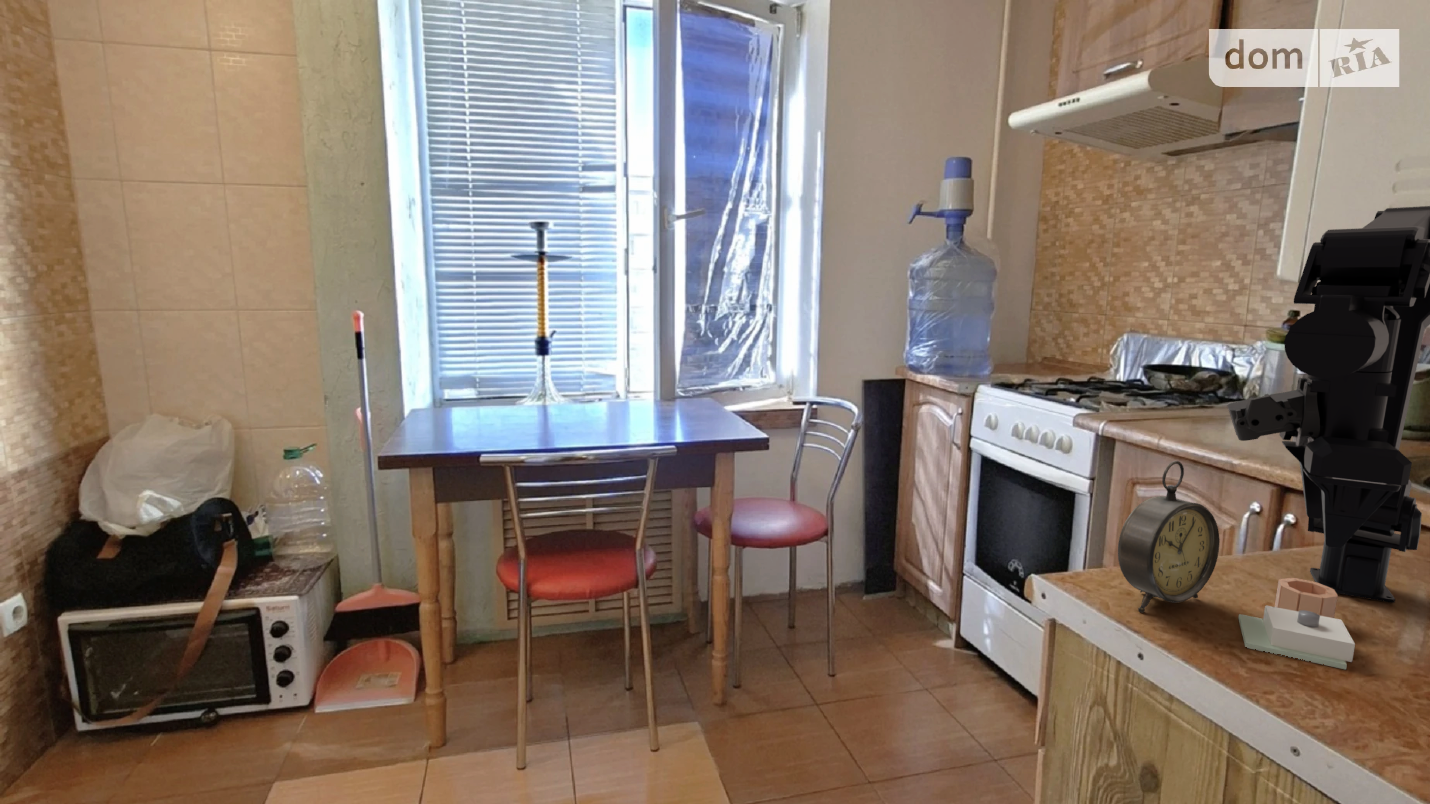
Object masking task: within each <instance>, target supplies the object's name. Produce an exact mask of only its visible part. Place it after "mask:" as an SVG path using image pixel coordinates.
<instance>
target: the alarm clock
mask: <svg viewBox="0 0 1430 804" xmlns="http://www.w3.org/2000/svg"><path fill="white" fill-rule="evenodd" d="M1174 465H1177V466H1179V469H1180V476H1179V479H1178V481H1177V483H1176V484H1175V485H1174V484H1169V485H1167V483H1166V478H1167V474H1168V473H1169V470H1170V469H1171V467H1172V466H1174ZM1184 468H1185V467H1184V465H1183V463H1181V461H1179V460H1173V461H1172V462H1170V463H1168V465H1167V466H1166V467H1165V469H1164V471H1163V474H1162V478H1161V480H1162V481H1161V482H1162V485H1163V488H1164V489H1165V490H1166V491H1167V492H1166V496H1164V495H1158V496H1153V497H1150V498H1148V499H1145V500H1144V501H1142V502H1141V503H1139V504H1138V505H1137V506H1136V507H1135V508H1134V509H1133V510H1132V511H1131V513H1130V514H1129V515H1128V516H1127V518H1126V520H1125V521H1124V523H1123V526H1122V528H1121V531H1120V534H1119V536H1118V537H1119V538H1118V543H1117V559H1118V564H1119V568H1120V571H1121V573H1122V575H1123V577H1124V579H1125V580H1126V581H1127V582H1128V583H1129V585H1130V586H1132V587H1133V588H1134V589H1136V590H1138V591H1139V593H1145V594H1144V595H1143V598H1142V601H1141V603H1140V604H1141V605H1140V606H1138V608H1137V610H1138V612H1139V613H1142V614H1143V613H1145V612H1146V611H1145V610H1146V607H1147V606H1148V605H1149V604H1150V602H1151V600H1152V599H1153V598H1159V599H1161V600H1163V601H1166V602H1169V603H1173V604H1176V603H1177V604H1178V603H1182V602H1185V601H1187V600H1190V599H1191V598H1193V599H1198V598H1199V593H1200V592H1201V591H1202V589H1203V588H1204V587H1205V586H1206V584H1207V583H1208V582H1209V580H1210V579H1211V577H1212V575H1213V572H1214V570H1215V569H1216V568H1215V567H1216V565H1217V561H1218V558H1219V554H1220V553H1219V551H1220V540H1221V539H1220V533H1219V531H1220V530H1219V527H1218V524H1217V521H1216V519H1215V517H1214V515H1213V513H1211V511H1210V510H1209V508H1207V507H1206V506H1204V505H1203V504H1200V503H1198V502H1192V501H1188V500H1182V499H1179V498H1177V496H1176V495H1177V494H1176V492H1178V491H1177V490H1178V489H1177V488H1178V487H1180V485H1181V483H1182V482H1183V479H1184V476H1185V475H1184V474H1185V470H1184Z"/></svg>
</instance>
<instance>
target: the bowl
mask: <svg viewBox="0 0 1430 804" xmlns="http://www.w3.org/2000/svg"><path fill="white" fill-rule="evenodd" d="M1338 595H1339V594H1338V593H1336V592H1335V590H1334V589H1332V588H1330V587H1327V586H1325V585H1322V584H1320V583H1317V582H1315V581H1313V580H1308V579H1301V578H1296V577H1288V578H1287V577H1286V578H1279V579H1278V582H1277V590H1276V596H1275V603H1274V607H1277V608H1282V609H1288V610H1293V611H1298V612H1299V611H1300V610H1305V611H1311V612H1314V613H1316V614H1318V615H1319V616H1325V617H1330V618H1335V617H1336V609H1337V603H1338V597H1339V596H1338Z"/></svg>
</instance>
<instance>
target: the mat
mask: <svg viewBox="0 0 1430 804" xmlns="http://www.w3.org/2000/svg"><path fill="white" fill-rule="evenodd" d="M1237 618H1238V622H1239V623H1238V624H1239V628H1240V631H1241V634H1242V640H1243V642H1244V643H1243V644H1244V647H1247V649H1251V650H1255V649H1256V651H1259V652H1263V651H1265V652H1264V653H1268V652H1270V653H1269V654H1273V653H1274V654H1273V655H1277V654H1281V655H1280V656H1282V655H1285V656H1284V657H1286V656H1288V657H1287V658H1291V657H1293V658H1292V659H1295V658H1298V659H1297V660H1300V659H1301V660H1300V661H1304V660H1305V662H1309V661H1311V662H1310V663H1313V664H1319V665H1323V664H1324V665H1323V666H1327V667H1328V666H1329V667H1332V668H1337V669H1341V670H1347V667H1348V666H1347V661H1344V660H1340V659H1335V658H1330V657H1325V656H1321V655H1316V654H1311V653H1307V652H1302V651H1297V650H1292V649H1288V648H1283V647H1278V646H1274V645H1271V644H1270V641H1269V638H1268V635H1267V632H1266V629H1265V626H1264V623H1263V618H1260V617H1257V616H1252V615H1246V614H1241V613H1239V614H1238V617H1237ZM1302 659H1303V660H1302Z"/></svg>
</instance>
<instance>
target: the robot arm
mask: <svg viewBox="0 0 1430 804" xmlns="http://www.w3.org/2000/svg"><path fill="white" fill-rule="evenodd" d="M1293 304H1295V305H1297V304H1298V305H1299V304H1300V305H1301V304H1302V305H1314V307H1313V311H1312V312H1308V313H1306V314H1305V315H1303V316H1301V317H1300V318H1299V319H1297V320H1296V321H1294V323H1293V324H1292V325H1291V326H1290V328H1289V330H1288V331H1287V333H1286V335H1285V337H1284V341H1283V343H1284V352H1285V355H1286V357H1287V359H1288V360H1289V362H1290V363H1291V364H1292V365H1293V366H1294V367H1295V368H1296V369H1297V370H1298V371H1300V372H1302V373H1304V374H1302V376H1301V377H1298V379H1297V386H1296V389H1295V390H1290V391H1284V392H1279V393H1277V392H1276V393H1272V394H1268V393H1266V394H1264V395H1262V396H1257V397H1253V396H1251V397H1249V398H1248V399H1244V400H1237V401H1233V402H1230V403H1228V404H1227V405H1226V406H1227V410H1228V413H1229V415H1230V419H1231V422H1232V425H1233V429H1234V433H1235V435H1236V436H1237V438H1238V440H1239V441H1241V442H1244V441H1245V442H1246V441H1253V440H1259V438H1260V437H1264V436H1268V435H1269V436H1271V435H1274V434H1279V438H1281V439H1282V441H1281V443H1282V445H1283V446H1284V448H1285V449H1286V450H1287V451H1288V452H1289V453H1290V454H1291V455H1292V456H1293V457H1294V458H1295V459H1296V460H1297V461H1298V462H1299V468H1300V474H1301V476H1300V477H1301V483H1302V490H1303V498H1304V506H1305V512H1306V516H1307V517H1308V524H1307V531H1308V532H1310V533H1319V534H1323V536H1324V541H1323V546H1322V547H1323V548H1322V552H1321V553H1322V554H1321V560H1320V565H1319V568H1316V567H1310V568H1309V572H1310V575H1311V577H1312V578H1313V580H1314V582H1317V583H1320V584H1322V585H1325V586H1327V587H1330V588H1332V589H1334V590H1335V592H1336V593H1337V594H1338V595H1340V594H1341V595H1343V596H1344V595H1345V596H1351V597H1356V598H1357V597H1358V598H1362V599H1368V600H1374V601H1378V602H1383V603H1384V602H1385V603H1391V604H1393V603H1396V602H1395V600H1396V598H1395V597H1394V595H1393V594H1392V593H1391V591H1390V590H1389V588H1388V587H1387V586H1386V581H1387V576H1388V570H1389V565H1390V560H1391V559H1390V558H1391V553H1392V549H1394V550H1398V552H1402V553H1406V551H1407V550H1408V551H1417V550H1418V547H1419V542H1420V536H1421V531H1422V529H1421V527H1422V516H1423V515H1422V514H1423V512H1422V511H1421V510H1420V509H1419V508H1418V504H1417V497H1412V496H1410V495H1411V493H1410V492H1411V491H1412V490H1411V489H1412V481H1411V480H1410V474H1411V471H1412V470H1411V469H1412V466H1413V465H1412V464H1413V462H1412V461H1411V460H1410V459H1408V457H1407V456H1405V454H1403V453H1402V452H1401V451H1400V447H1401V443H1402V437H1403V433H1404V428H1405V424H1406V417H1407V414H1408V409H1409V405H1410V402H1411V401H1410V400H1411V395H1412V390H1413V386H1414V381H1415V376H1416V373H1417V367H1418V362H1419V357H1420V354H1421V349H1422V348H1421V347H1422V344H1423V339H1424V334H1425V329H1427V327H1429V326H1430V205H1425V206H1420V205H1419V206H1403V207H1402V206H1401V207H1389V208H1388V207H1387V208H1385V209H1384V210H1378V211H1377V212H1375V216H1374V218H1373V220H1371V221H1370V222H1369V223H1368V224H1366V225H1364V226H1363V227H1361V228H1336V229H1327V230H1326V231H1325V232H1324V233H1322V236H1321V237H1320V241H1318V242H1317V241H1316V242H1313V243H1312V245H1311V248H1310V250H1309V253H1308V255H1307V259H1306V261H1305V264H1304V268H1303V271H1302V273H1301V277H1300V279H1299V282H1298V285H1297V288H1296V290H1295V293H1294V297H1293ZM1291 440H1292V441H1291ZM1395 532H1400V533H1395Z"/></svg>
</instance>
